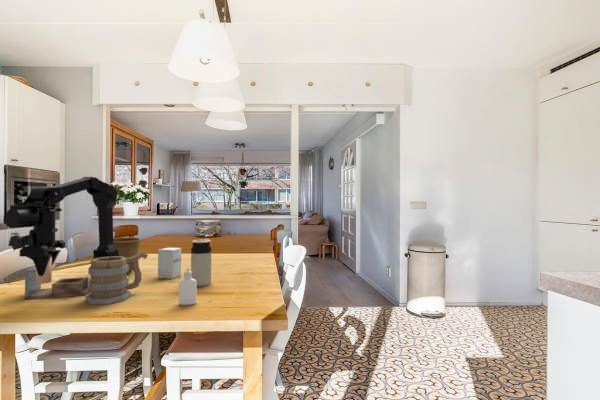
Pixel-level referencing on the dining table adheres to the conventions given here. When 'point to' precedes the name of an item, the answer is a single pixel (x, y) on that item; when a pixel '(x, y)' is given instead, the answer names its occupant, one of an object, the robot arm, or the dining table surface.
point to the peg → (45, 274)
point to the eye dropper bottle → (187, 289)
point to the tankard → (112, 278)
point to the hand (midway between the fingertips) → (43, 274)
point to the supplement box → (169, 262)
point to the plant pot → (127, 248)
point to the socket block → (54, 287)
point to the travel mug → (201, 262)
